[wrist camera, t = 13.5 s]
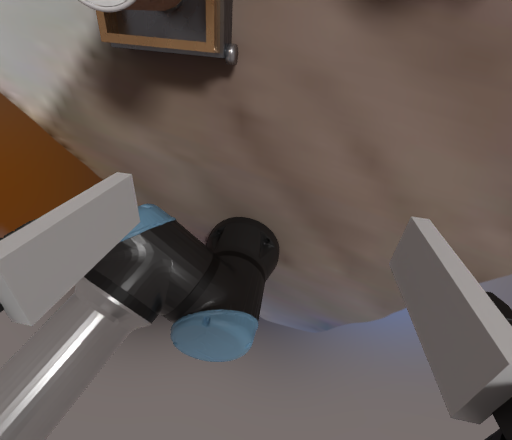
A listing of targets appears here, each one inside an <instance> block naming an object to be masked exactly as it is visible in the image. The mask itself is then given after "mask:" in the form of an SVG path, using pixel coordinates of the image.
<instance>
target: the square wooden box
mask: <svg viewBox="0 0 512 440" xmlns="http://www.w3.org/2000/svg"><path fill="white" fill-rule="evenodd" d="M232 2H233V0H181V2H180V3H179V4H178V5H176V6H175V7H173V8H171V9H168V10H165V11H149V10H121V11H117V12H101V11H97V10H96V14H97V19H98V24H99V30H100V35H101V40H102V42H110V43H111V47H119V48H129V49H138V50H148V51H158V52H168V53H178V54H188V55H198V56H207V57H217V58H225V60H226V63H227V64H231V65H236V64H237V60H238V47H237V44H231V38H232ZM95 5H96V4H95ZM98 6H100V5H98Z"/></svg>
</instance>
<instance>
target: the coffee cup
mask: <svg viewBox="0 0 512 440" xmlns="http://www.w3.org/2000/svg"><path fill="white" fill-rule="evenodd" d="M78 1H80V2H81V3H83V4H84V5H86V6H88V7H90V8H92V9H94V10H97V11H101V12H117V11H121V10H149V11H165V10H168V9H171V8H173V7H175V6H176V5H178V4H179V3H180V2H181V0H78ZM88 1H89V2H88ZM90 2H91V3H90ZM95 4H96V5H95ZM98 5H100V6H98Z"/></svg>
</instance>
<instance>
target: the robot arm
mask: <svg viewBox="0 0 512 440" xmlns="http://www.w3.org/2000/svg"><path fill="white" fill-rule="evenodd" d="M278 258H279V244H278V241H277V239H276V237H275V235H274V234H273V232H272V231H271V230H270V229H269V228H268V227H266V226H265V225H264V224H262V223H260V222H258V221H256V220H253V219H250V218H244V217H234V218H229V219H226V220H224V221H222V222H220V223H219V224H218V225H216V226H215V228H214V229H213V230H212V232H211V234H210V236H209V238H208V241H207V246H205V245H204V244H203V243H202V242H201V241H199V240H198V239H197V238H196V237H195V236H193V235H192V234H191V233H190V232H189V231H188V230H186V229H185V228H184V227H183V226H182V225H181V224H179V223H178V222H177V221H176V219H175V218H174V217H171V216H170V215H168V214H167V213H166V212H164V211H163V210H162V209H160V208H159V207H158V206H156V205H154V204H144V205H141V206H137V201H136V195H135V190H134V184H133V179H132V174H126V173H119V172H117V173H115V174H113V175H111V176H110V177H108V178H106V179H105V180H103V181H101V182H100V183H98V184H96V185H94V186H93V187H91V188H89V189H88V190H86V191H84V192H83V193H81V194H79V195H77V196H76V197H74V198H72V199H71V200H69V201H67V202H66V203H64V204H62V205H60V206H59V207H57V208H55V209H54V210H52V211H50V212H48V213H47V214H45V215H43V216H42V217H40V218H38V219H35V220H32V221H29V222H27V223H26V224H24V225H22V226H20V227H19V228H17V229H16V230H15V231H12V232H10V233H8V234H7V235H5V236H4V238H0V312H1V311H3V310H4V311H5V312H6V314H7V315H8V317H9V318H10V320H11V321H12V322H16V323H21V324H25V325H30V326H33V325H34V324H35V323H36V322H37V321H38V320H39V319H40V318H41V317H42V316H43V315H44V314H45V313H46V312H47V311H48V310H49V309H50V308H51V307H52V306H53V305H54V304H56V302H58V301H59V300H60V298H61V297H62V296H64V295H65V294H66V293H67V292H68V291H69V290H70V289H71V288H72V287H73V286H74V285H76V286H75V287H76V288H75V292H74V294H73V295H72V296H71V297H70V298H69V299H68V300H67V301H66V302H65V303H64V304H63V305H62V306H61V307H60V308H59V309H58V310H57V311H56V312H55V313H54V314H53V315H52V317H51V318H49V319H48V321H47V322H46V323H45V324H44V325H43V326H42V327H41V328H40V329H39V330H38V331H37V332H36V333H35V334H34V335H33V336H32V337H31V338H30V339H29V340H28V341H27V342H26V343H25V344H24V345H23V346H22V347H21V348H20V349H19V351H17V352H16V353H15V354H14V356H12V357H11V358H10V359H9V361H8V362H7V363H6V364H5V365H4V366H3V367H2V368H1V369H0V440H46V438H47V437H48V436H49V435H50V433H51V432H52V431H53V430H54V428H55V427H56V426H57V425H58V423H59V422H60V421H61V419H62V418H63V417H64V416H65V414H66V413H67V412H68V411H69V409H70V408H71V407H72V405H73V404H74V403H75V402H76V400H77V399H78V398H79V397H80V395H81V394H82V393H83V392H84V390H85V389H86V388H87V387H88V385H89V384H90V383H91V381H92V380H93V379H94V378H95V376H96V375H97V374H98V373H99V371H100V370H101V369H102V367H103V366H104V365H105V364H106V362H107V361H108V360H109V359H110V357H111V356H112V355H113V354H114V352H115V351H116V350H117V349H118V347H119V346H120V345H121V343H122V342H123V341H124V340H125V338H126V337H127V336H128V334H129V333H130V332H131V331H133V330H135V329H138V328H142V327H146V326H150V325H151V324H152V322H153V321H154V320H155V318H156V317H157V316H158V315H159V314H161V315H162V316H164V317H165V318H167V319H168V320H169V321H171V322H172V323H173V325H172V327H171V340H172V341H173V344H174V345H175V347H176V348H177V349H178V350H180V351H181V352H182V353H184V354H186V355H188V356H190V357H193V358H196V359H199V360H204V361H210V362H225V361H231V360H234V359H237V358H239V357H241V356H243V355H244V354H246V353H247V352H248V351H249V349H250V348H251V346H252V343H253V340H254V336H255V332H256V330H257V328H258V320H259V314H260V308H261V303H262V297H263V291H264V285H265V281H266V280H267V279H268V277H269V276H270V275H271V273H272V272H273V270H274V269H275V267H276V265H277V262H278ZM389 265H390V268H391V270H392V273H393V275H394V278H395V280H396V283H397V285H398V288H399V290H400V293H401V295H402V298H403V300H404V302H405V305H406V307H407V310H408V312H409V315H410V317H411V320H412V322H413V325H414V327H415V330H416V332H417V335H418V337H419V340H420V342H421V345H422V347H423V350H424V352H425V355H426V357H427V360H428V362H429V365H430V367H431V370H432V372H433V375H434V377H435V380H436V382H437V384H438V387H439V389H440V392H441V395H442V397H443V400H444V402H445V405H446V407H447V410H448V412H449V415H450V417H451V418H454V419H458V420H463V421H467V422H472V423H476V424H481V423H482V422H483V421H484V420H486V419H487V418H488V417H489V416H491V415H492V414H493V416H494V418H495V420H496V422H497V423H498V425H499V427H500V429H499V430H497V431H496V432H495V433H493V434H492V435H490V436H489V437H488V438H486V439H485V440H512V310H511V309H510V307H509V306H508V305H507V304H505V303H504V302H503V301H502V300H500V299H499V298H498V297H497V296H495V295H494V294H493V293H491V292H485V291H484V290H483V288H482V287H481V286H480V285H479V283H478V282H477V281H476V279H475V278H474V277H473V275H472V274H471V273H470V271H469V270H468V269H467V268H466V266H465V265H464V264H463V262H462V261H461V260H460V258H459V257H458V256H457V255H456V253H455V252H454V251H453V249H452V248H451V247H450V245H449V244H448V243H447V242H446V240H445V239H444V238H443V236H442V235H441V234H440V232H439V231H438V230H437V229H436V227H435V226H434V225H433V223H432V222H431V221H430V219H424V218H417V217H411V218H410V220H409V222H408V224H407V226H406V229H405V231H404V233H403V235H402V237H401V239H400V241H399V244H398V246H397V248H396V250H395V252H394V254H393V256H392V258H391V261H390V263H389Z"/></svg>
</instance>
